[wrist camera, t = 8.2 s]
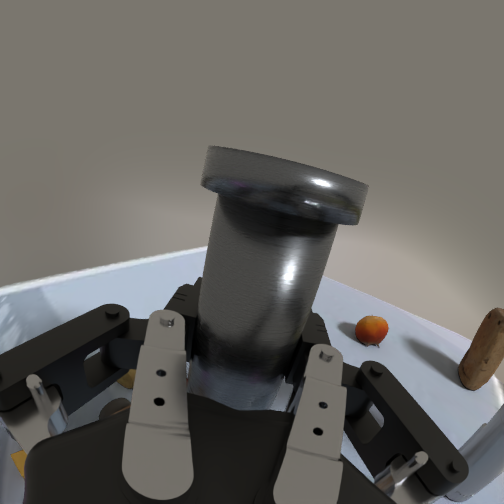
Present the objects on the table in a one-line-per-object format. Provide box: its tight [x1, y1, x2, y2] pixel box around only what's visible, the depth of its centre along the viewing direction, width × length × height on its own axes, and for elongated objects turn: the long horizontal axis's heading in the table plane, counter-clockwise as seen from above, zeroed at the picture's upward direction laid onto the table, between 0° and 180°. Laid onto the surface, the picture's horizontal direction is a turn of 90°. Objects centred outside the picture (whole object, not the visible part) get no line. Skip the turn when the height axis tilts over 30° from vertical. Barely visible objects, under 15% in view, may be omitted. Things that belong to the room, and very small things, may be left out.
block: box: [458, 308, 504, 390], centre depth 44 cm, size 11×8×20 cm
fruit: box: [355, 316, 389, 347], centre depth 60 cm, size 8×8×8 cm
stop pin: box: [187, 146, 369, 410], centre depth 11 cm, size 5×5×15 cm
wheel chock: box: [11, 450, 27, 478], centre depth 14 cm, size 4×3×3 cm
